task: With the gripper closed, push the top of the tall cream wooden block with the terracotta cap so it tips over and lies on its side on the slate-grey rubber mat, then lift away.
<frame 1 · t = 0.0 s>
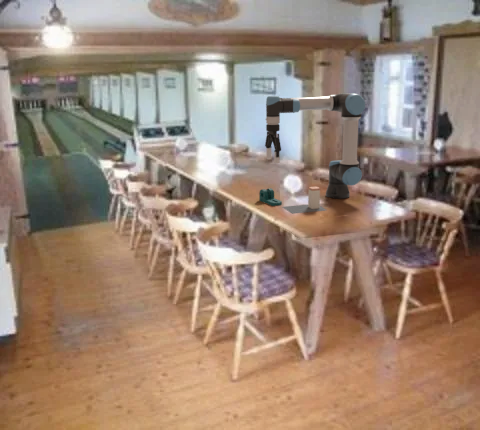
hand: (272, 161, 302), 28 cm above the table, fingers open, 13 cm apart
bracket: (271, 203, 321), on the table
cream block: (313, 207, 307), resting on slate mat
slate mat: (304, 209, 305), on the table
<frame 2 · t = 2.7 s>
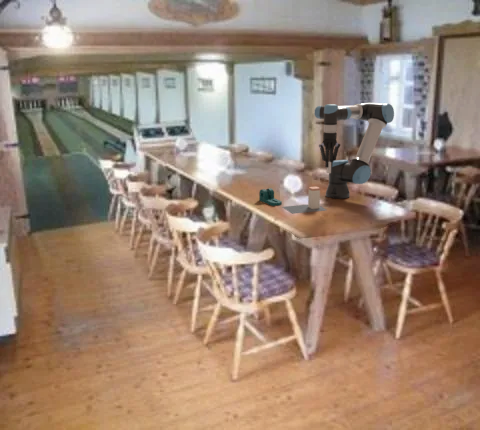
hand: (328, 172, 304), 21 cm above the table, fingers closed
nothing on the table moved.
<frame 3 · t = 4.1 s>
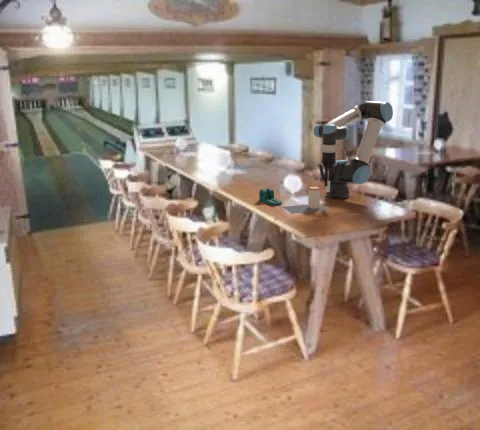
hand: (327, 191, 307), 9 cm above the table, fingers closed
nothing on the table moved.
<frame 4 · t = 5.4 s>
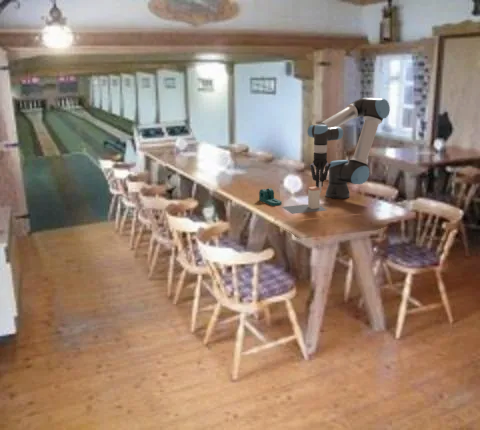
hand: (319, 192, 305), 10 cm above the table, fingers closed
cream block: (313, 207, 307), point 1 cm above the table, touching gripper, slate mat
everything else where it was.
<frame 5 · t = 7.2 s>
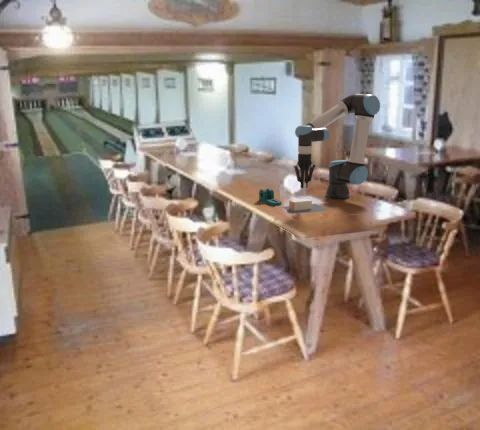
hand: (303, 193, 303), 10 cm above the table, fingers closed
cream block: (309, 203, 305), point 3 cm above the table, tilted 90°, touching slate mat
everything else where it was.
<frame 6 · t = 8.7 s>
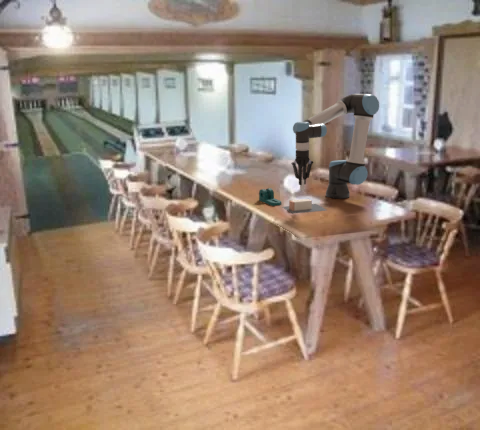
hand: (302, 190, 302), 12 cm above the table, fingers closed
nothing on the table moved.
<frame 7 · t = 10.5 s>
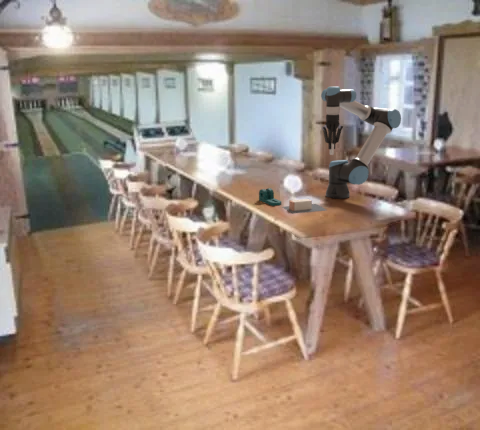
hand: (331, 154, 307), 30 cm above the table, fingers closed
nothing on the table moved.
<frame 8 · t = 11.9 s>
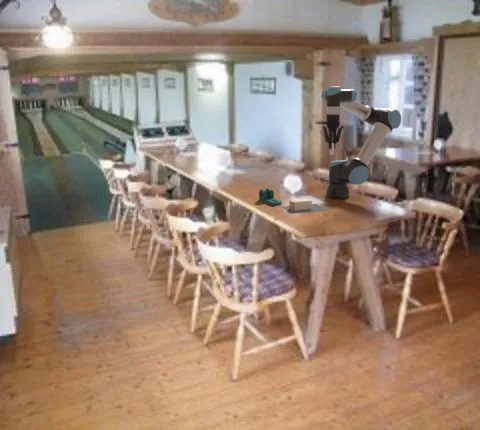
hand: (331, 154, 307), 30 cm above the table, fingers closed
nothing on the table moved.
at the end: cream block tilted 90°; cream block inside the target area on the slate mat (4.5 cm from its centre), point 3.0 cm above the slate mat's base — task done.
